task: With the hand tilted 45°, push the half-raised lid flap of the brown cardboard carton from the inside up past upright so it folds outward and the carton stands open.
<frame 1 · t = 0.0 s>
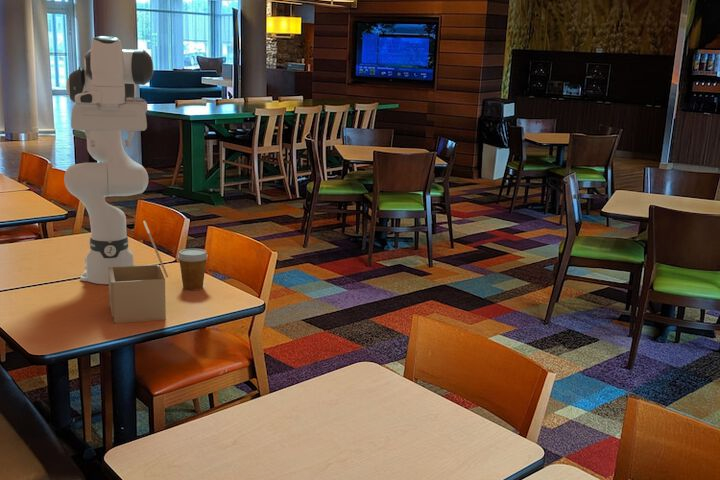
hand: (110, 146, 212), 48 cm above the table, tool pointing down, fingers open, 8 cm apart
lid flap: (155, 248, 218), point 19 cm above the table, hinge at 70.0°
carton: (138, 312, 220), on the table
disposable coffee cup: (193, 287, 246), on the table
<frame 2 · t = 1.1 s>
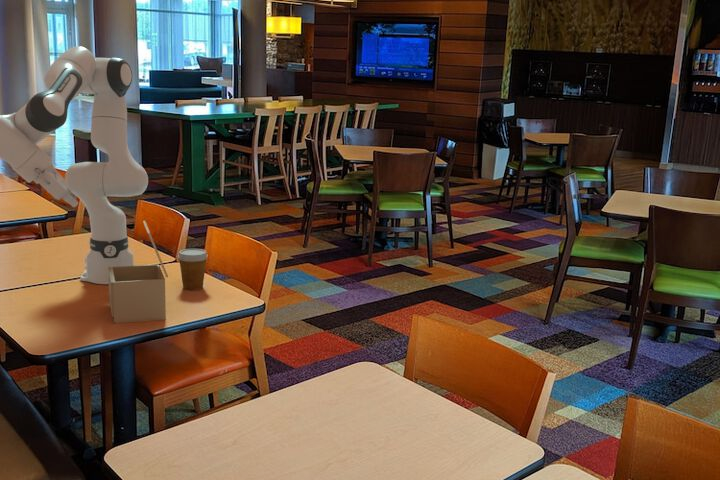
hand: (75, 202, 207), 33 cm above the table, tool tilted 45°, fingers open, 8 cm apart
nothing on the table moved.
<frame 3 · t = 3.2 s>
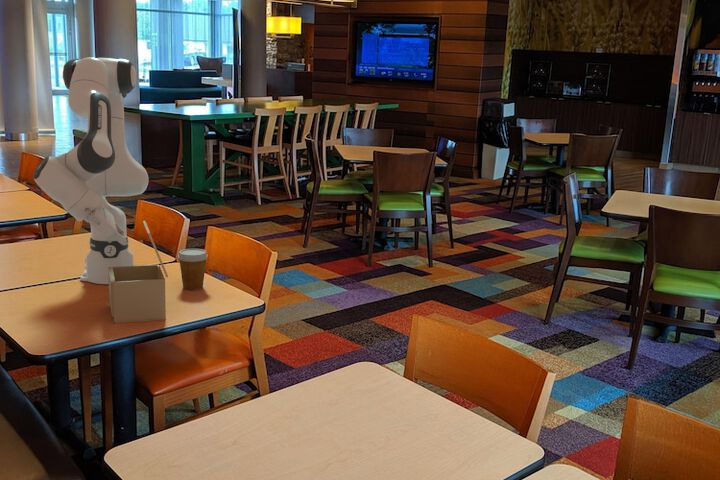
hand: (123, 238, 214), 22 cm above the table, tool tilted 45°, fingers open, 8 cm apart
nothing on the table moved.
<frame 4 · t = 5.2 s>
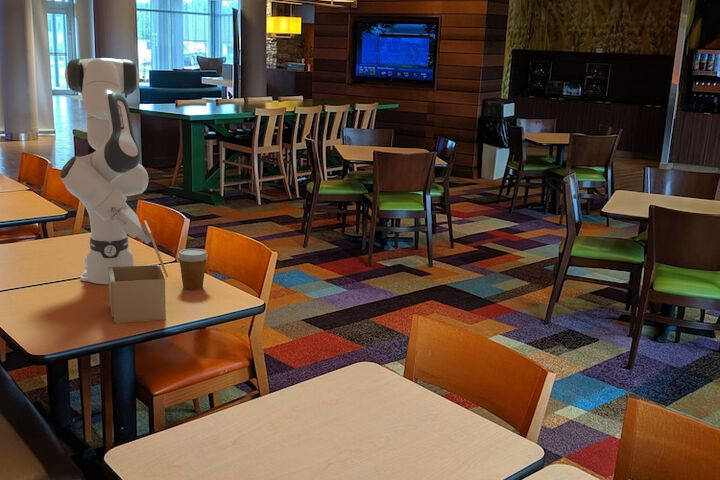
hand: (148, 238, 216), 22 cm above the table, tool tilted 45°
lid flap: (155, 248, 218), point 19 cm above the table, hinge at 71.3°, touching gripper
everything else where it was.
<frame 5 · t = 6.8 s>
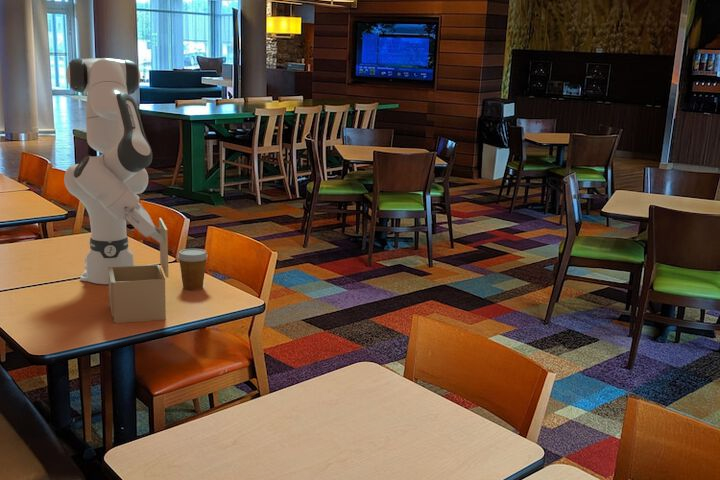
hand: (160, 237, 217), 22 cm above the table, tool tilted 45°
lid flap: (163, 247, 218), point 19 cm above the table, hinge at 89.6°, touching gripper
everything else where it was.
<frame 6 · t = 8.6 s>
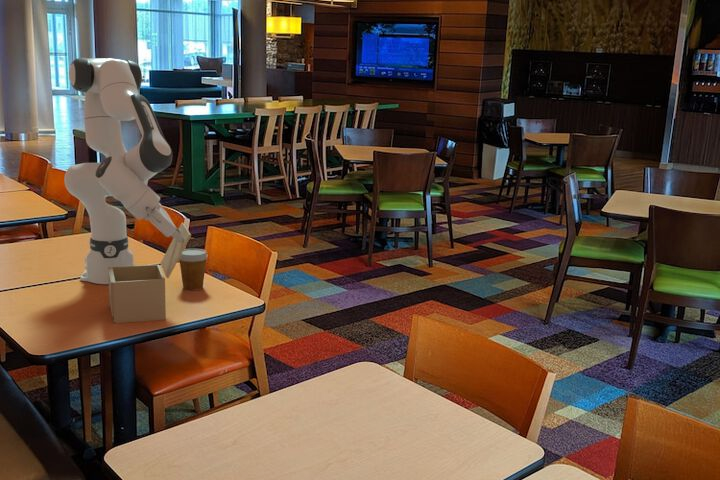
hand: (180, 236, 219), 22 cm above the table, tool tilted 45°
lid flap: (175, 249, 220), point 18 cm above the table, hinge at 117.7°, touching gripper
everything else where it was.
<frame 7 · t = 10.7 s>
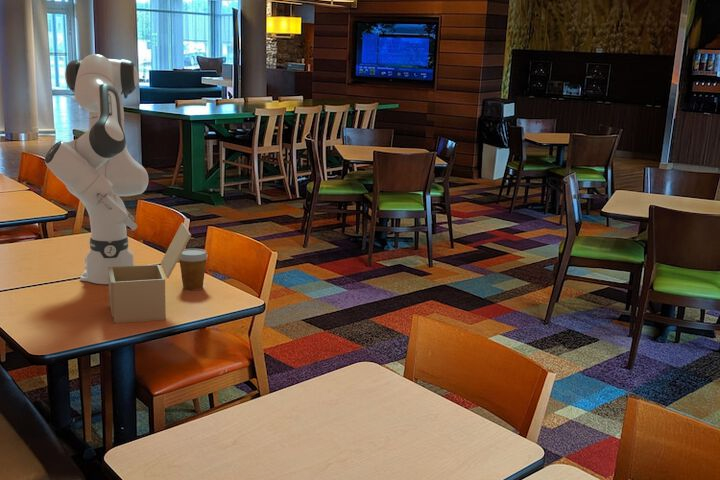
hand: (134, 224, 214), 26 cm above the table, tool tilted 45°, fingers open, 8 cm apart
lid flap: (175, 249, 220), point 18 cm above the table, hinge at 117.8°
everything else where it was.
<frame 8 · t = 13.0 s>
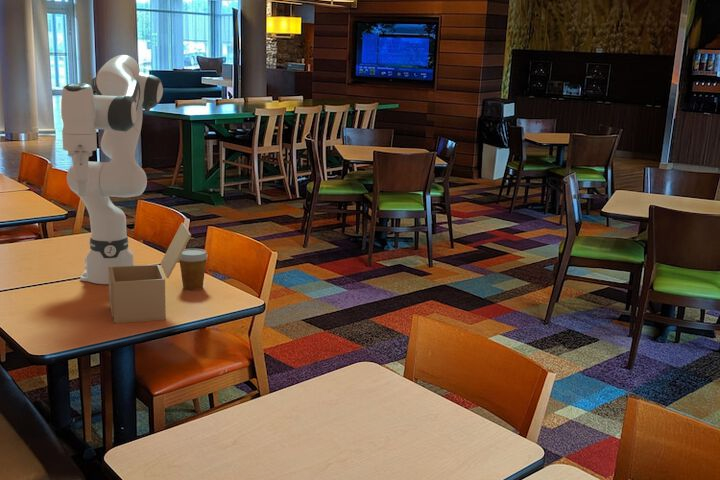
hand: (82, 192, 211), 35 cm above the table, tool pointing down, fingers open, 8 cm apart
nothing on the table moved.
at the end: lid flap at +118° (first picture: +70°) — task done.
